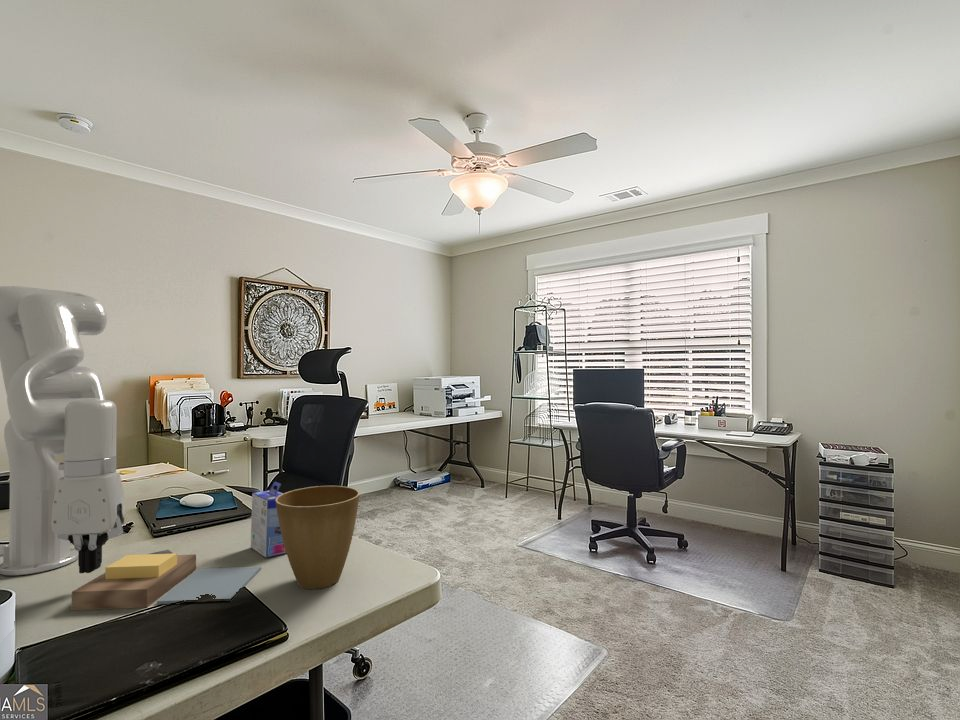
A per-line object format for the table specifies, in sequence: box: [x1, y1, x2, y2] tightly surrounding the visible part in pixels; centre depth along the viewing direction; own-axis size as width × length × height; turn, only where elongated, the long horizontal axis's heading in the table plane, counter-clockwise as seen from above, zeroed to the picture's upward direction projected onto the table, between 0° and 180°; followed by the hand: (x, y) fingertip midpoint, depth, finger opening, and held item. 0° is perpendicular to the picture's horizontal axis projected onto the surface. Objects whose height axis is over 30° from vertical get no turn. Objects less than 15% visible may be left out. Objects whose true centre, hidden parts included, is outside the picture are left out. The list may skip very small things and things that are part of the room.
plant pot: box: [275, 485, 361, 590], centre depth 93 cm, size 15×15×16 cm
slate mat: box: [156, 566, 262, 605], centre depth 91 cm, size 12×14×1 cm
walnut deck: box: [71, 553, 197, 611], centre depth 91 cm, size 12×16×3 cm
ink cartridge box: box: [250, 481, 287, 558], centre depth 110 cm, size 10×6×14 cm, turn 43°
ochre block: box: [104, 553, 178, 579], centre depth 91 cm, size 9×6×2 cm, turn 93°
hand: (90, 570), depth 90 cm, fingers closed
